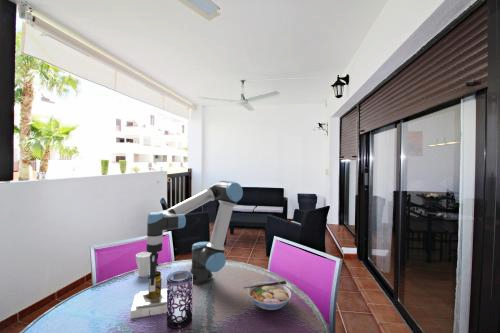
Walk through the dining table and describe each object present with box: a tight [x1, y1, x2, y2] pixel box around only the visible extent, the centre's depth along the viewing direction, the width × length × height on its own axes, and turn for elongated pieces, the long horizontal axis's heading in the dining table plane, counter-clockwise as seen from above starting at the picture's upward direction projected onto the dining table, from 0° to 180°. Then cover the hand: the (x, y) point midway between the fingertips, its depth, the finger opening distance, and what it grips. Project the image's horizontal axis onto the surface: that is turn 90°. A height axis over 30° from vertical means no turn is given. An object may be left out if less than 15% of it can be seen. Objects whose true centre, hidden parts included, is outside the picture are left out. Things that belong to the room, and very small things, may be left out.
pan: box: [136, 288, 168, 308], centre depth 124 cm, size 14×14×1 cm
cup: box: [135, 251, 152, 278], centre depth 159 cm, size 10×10×14 cm
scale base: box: [130, 293, 167, 319], centre depth 123 cm, size 18×17×4 cm
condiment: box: [143, 270, 163, 302], centre depth 124 cm, size 7×8×12 cm
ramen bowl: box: [243, 280, 292, 311], centre depth 127 cm, size 25×23×8 cm
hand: (153, 284), depth 124 cm, fingers open, 13 cm apart
